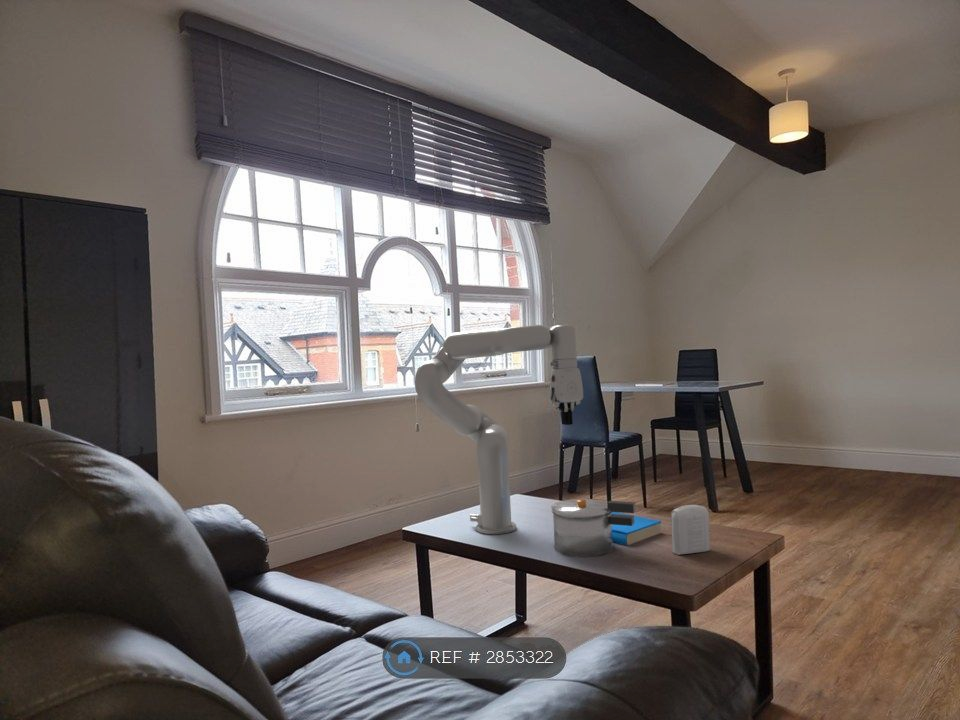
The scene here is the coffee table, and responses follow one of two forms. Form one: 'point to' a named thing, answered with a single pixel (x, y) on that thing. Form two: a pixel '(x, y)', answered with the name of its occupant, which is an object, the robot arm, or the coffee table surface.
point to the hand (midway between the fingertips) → (567, 424)
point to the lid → (590, 508)
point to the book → (635, 530)
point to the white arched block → (690, 529)
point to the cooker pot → (587, 534)
